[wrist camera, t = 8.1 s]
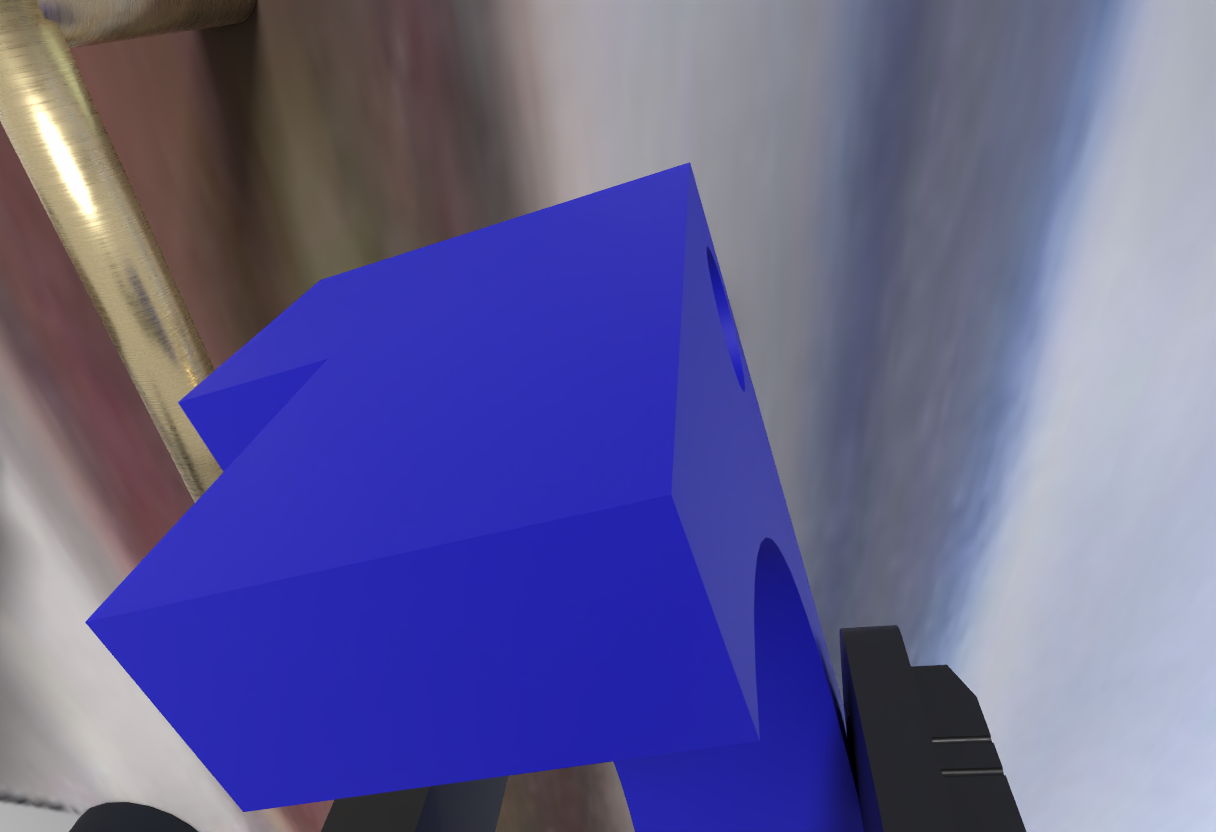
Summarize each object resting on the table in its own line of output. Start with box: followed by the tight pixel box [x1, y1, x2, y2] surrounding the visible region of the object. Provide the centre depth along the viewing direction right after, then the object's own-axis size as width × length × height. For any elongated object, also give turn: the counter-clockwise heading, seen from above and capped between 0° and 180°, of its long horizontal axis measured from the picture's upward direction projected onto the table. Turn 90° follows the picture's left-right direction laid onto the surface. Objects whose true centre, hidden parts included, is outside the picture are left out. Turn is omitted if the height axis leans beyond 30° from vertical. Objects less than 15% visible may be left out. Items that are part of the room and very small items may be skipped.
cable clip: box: [86, 163, 864, 832], centre depth 9 cm, size 12×4×6 cm, turn 19°
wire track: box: [0, 0, 256, 503], centre depth 17 cm, size 12×12×8 cm
